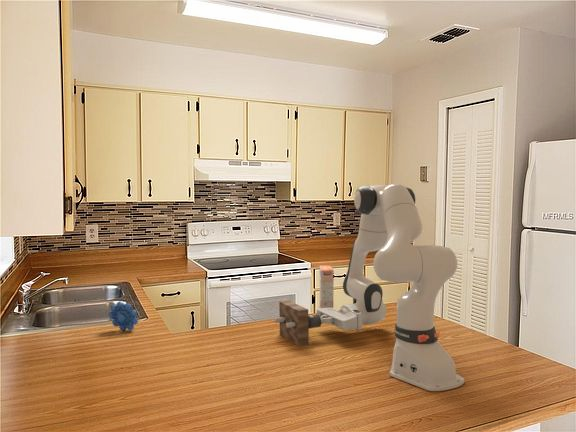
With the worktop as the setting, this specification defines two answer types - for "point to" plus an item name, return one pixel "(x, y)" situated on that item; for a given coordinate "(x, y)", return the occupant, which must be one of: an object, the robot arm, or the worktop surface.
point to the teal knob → (280, 319)
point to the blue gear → (123, 316)
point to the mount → (294, 314)
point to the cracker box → (326, 286)
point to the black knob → (312, 320)
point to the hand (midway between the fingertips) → (318, 320)
